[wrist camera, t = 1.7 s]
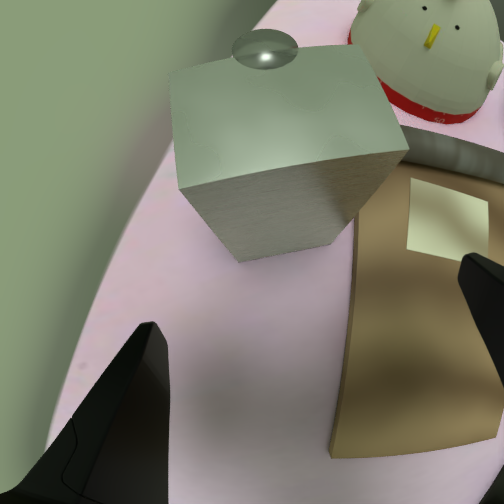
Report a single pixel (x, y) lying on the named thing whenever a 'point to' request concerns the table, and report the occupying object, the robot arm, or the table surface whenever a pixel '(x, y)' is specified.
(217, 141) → the brushed steel block
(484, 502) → the phone stand
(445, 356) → the walnut base leaf
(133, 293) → the table surface
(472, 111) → the kitchen timer
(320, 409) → the table surface
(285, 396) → the table surface
